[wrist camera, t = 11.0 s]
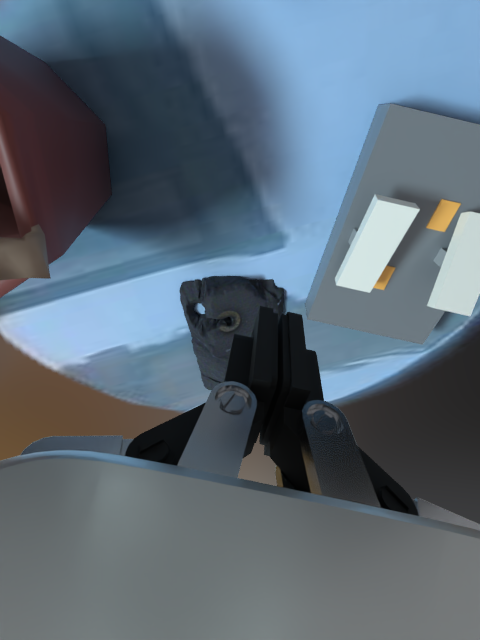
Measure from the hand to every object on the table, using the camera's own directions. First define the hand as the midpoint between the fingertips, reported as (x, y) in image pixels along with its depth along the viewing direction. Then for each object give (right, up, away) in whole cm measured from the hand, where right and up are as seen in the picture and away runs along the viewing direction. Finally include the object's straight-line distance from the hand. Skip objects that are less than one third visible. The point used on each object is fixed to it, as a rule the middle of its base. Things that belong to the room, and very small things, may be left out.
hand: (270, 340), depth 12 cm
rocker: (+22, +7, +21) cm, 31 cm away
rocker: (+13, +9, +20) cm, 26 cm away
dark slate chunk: (-2, -2, +37) cm, 38 cm away
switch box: (+18, +11, +26) cm, 33 cm away
